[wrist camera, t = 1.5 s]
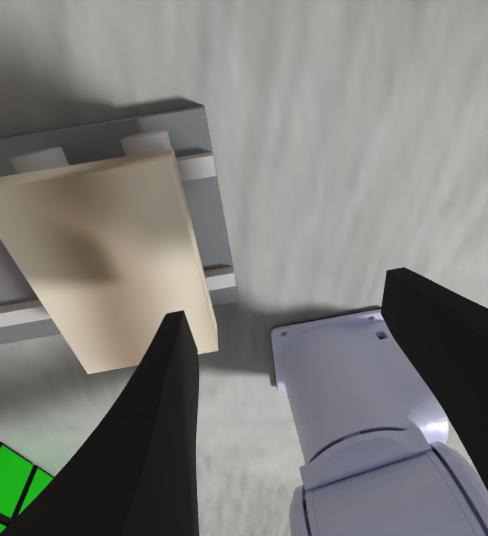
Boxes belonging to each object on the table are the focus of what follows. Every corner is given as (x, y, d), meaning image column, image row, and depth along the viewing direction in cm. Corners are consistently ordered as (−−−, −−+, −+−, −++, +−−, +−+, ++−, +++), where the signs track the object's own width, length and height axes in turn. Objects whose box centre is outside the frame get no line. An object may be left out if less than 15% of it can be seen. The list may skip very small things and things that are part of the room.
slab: (173, 127, 14) (165, 146, 11) (216, 308, 20) (220, 356, 17) (19, 152, 14) (-39, 179, 10) (110, 327, 20) (91, 379, 17)
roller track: (203, 105, 16) (205, 123, 10) (237, 291, 22) (248, 356, 17) (-201, 170, 15) (-402, 221, 10) (-43, 340, 22) (-117, 422, 17)
